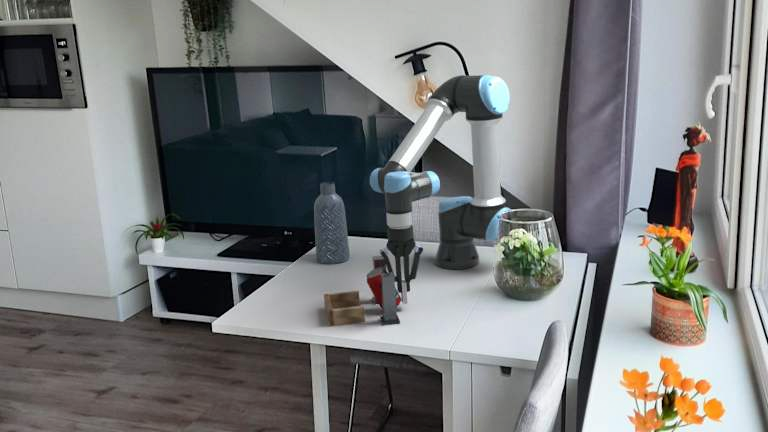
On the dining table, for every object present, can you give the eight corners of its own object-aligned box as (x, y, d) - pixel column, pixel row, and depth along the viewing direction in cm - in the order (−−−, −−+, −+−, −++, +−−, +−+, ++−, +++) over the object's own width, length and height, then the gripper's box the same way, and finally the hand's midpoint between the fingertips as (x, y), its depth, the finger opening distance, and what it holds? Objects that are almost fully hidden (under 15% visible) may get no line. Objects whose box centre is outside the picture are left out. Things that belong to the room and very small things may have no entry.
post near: (397, 316, 221) (394, 271, 217) (400, 323, 216) (397, 276, 213) (380, 318, 220) (377, 273, 217) (382, 325, 215) (379, 278, 212)
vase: (355, 259, 275) (350, 183, 268) (325, 267, 269) (319, 189, 262) (340, 252, 285) (334, 178, 278) (310, 258, 280) (304, 183, 272)
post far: (388, 297, 237) (385, 254, 233) (390, 303, 232) (388, 259, 228) (372, 299, 236) (369, 256, 233) (374, 304, 231) (371, 260, 228)
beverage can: (400, 308, 222) (382, 273, 219) (380, 315, 224) (362, 281, 221) (404, 297, 228) (386, 263, 225) (384, 304, 230) (367, 270, 227)
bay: (359, 304, 232) (358, 290, 231) (365, 322, 218) (364, 307, 217) (325, 308, 231) (323, 294, 230) (328, 326, 217) (327, 311, 216)
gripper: (419, 220, 225) (423, 295, 230) (376, 224, 223) (381, 300, 229) (424, 226, 217) (428, 304, 223) (380, 231, 216) (385, 309, 222)
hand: (404, 302), depth 226 cm, fingers closed
